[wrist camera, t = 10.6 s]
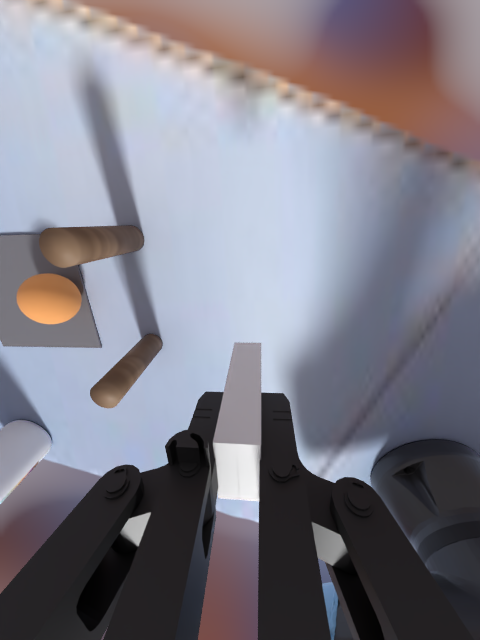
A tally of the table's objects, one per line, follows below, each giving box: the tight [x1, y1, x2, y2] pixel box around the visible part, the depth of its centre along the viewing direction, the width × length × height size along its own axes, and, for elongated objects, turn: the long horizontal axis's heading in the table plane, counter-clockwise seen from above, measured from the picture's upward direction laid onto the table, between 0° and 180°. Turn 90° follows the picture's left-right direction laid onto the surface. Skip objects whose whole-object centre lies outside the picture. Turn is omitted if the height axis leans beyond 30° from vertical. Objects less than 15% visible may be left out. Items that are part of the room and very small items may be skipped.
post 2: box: [90, 334, 163, 408], centre depth 25 cm, size 3×3×10 cm
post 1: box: [39, 225, 144, 268], centre depth 21 cm, size 3×3×10 cm
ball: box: [16, 273, 82, 324], centre depth 26 cm, size 6×6×6 cm
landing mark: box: [0, 234, 102, 348], centre depth 29 cm, size 14×14×1 cm
